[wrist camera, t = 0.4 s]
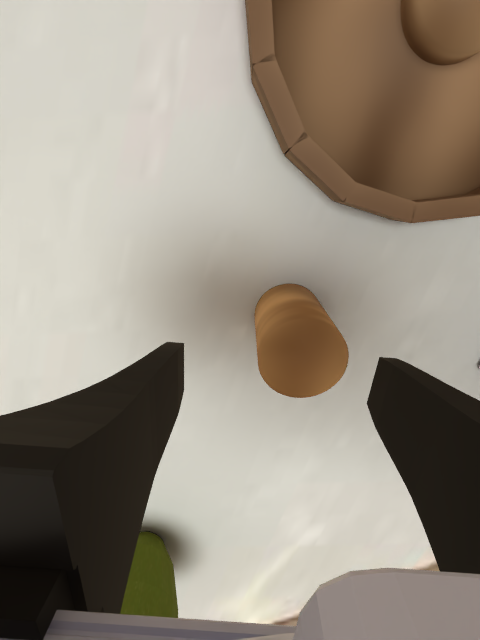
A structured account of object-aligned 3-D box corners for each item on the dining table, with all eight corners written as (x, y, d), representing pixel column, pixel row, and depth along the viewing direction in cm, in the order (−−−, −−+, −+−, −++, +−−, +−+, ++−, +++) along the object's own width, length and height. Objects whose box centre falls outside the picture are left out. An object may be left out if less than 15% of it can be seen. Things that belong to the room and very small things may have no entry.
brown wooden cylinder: (330, 294, 20) (363, 332, 14) (306, 351, 22) (327, 406, 16) (266, 275, 20) (274, 307, 14) (246, 335, 21) (246, 385, 16)
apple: (89, 547, 30) (4, 740, 20) (127, 498, 27) (52, 691, 17) (167, 578, 32) (127, 771, 21) (209, 535, 29) (188, 731, 19)
